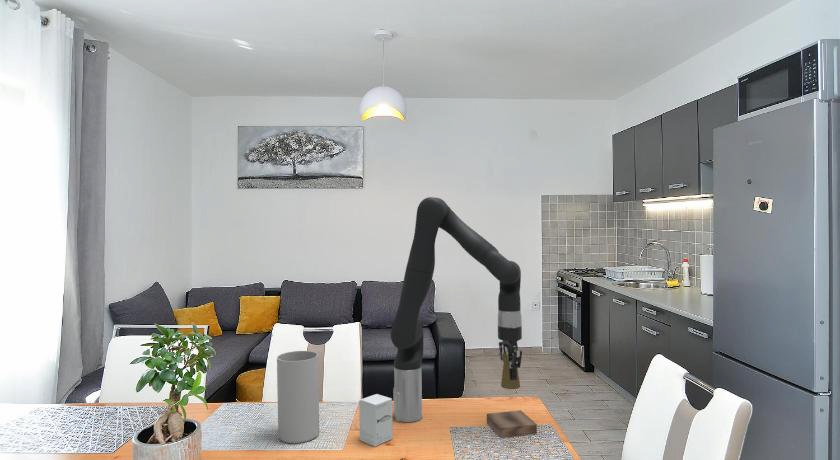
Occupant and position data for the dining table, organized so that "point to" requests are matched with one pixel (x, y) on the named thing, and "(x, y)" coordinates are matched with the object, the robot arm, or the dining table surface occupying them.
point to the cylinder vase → (298, 396)
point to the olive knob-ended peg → (508, 375)
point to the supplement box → (375, 419)
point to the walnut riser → (511, 424)
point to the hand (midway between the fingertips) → (510, 377)
